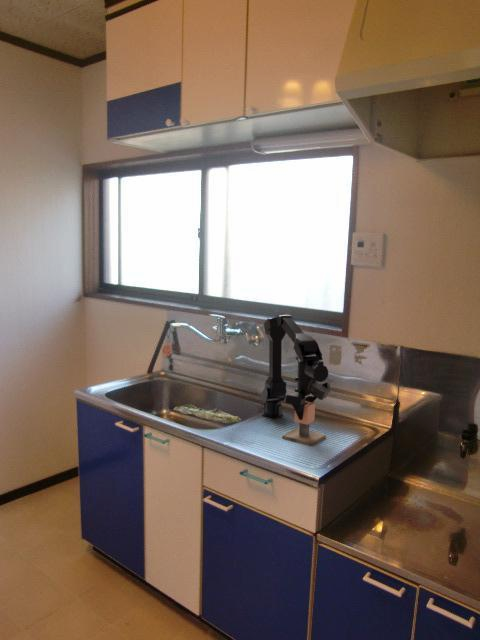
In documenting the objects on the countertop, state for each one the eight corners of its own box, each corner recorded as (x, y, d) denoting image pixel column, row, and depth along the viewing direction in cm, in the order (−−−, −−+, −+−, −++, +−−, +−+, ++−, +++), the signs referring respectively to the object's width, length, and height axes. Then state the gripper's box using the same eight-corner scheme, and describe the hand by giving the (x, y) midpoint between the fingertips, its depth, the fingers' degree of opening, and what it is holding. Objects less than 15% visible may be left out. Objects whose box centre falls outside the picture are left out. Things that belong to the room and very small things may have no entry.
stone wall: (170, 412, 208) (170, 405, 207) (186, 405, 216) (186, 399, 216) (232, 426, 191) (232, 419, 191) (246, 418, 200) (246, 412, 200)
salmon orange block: (294, 421, 178) (294, 403, 177) (301, 417, 182) (302, 400, 181) (307, 424, 175) (308, 406, 174) (314, 420, 179) (315, 402, 178)
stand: (282, 438, 179) (282, 419, 178) (296, 430, 187) (296, 411, 186) (312, 446, 172) (313, 426, 171) (325, 437, 180) (326, 418, 179)
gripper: (313, 384, 164) (312, 430, 166) (338, 373, 179) (336, 415, 181) (284, 378, 170) (283, 423, 172) (310, 368, 185) (309, 409, 187)
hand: (304, 417), depth 178 cm, fingers closed on salmon orange block, 5 cm apart
